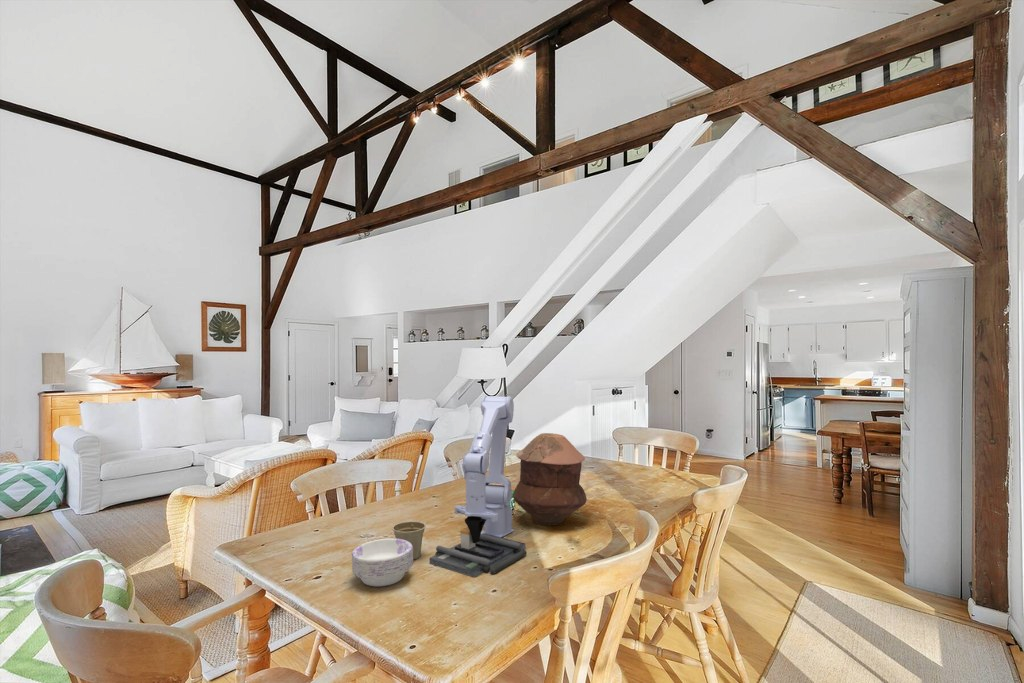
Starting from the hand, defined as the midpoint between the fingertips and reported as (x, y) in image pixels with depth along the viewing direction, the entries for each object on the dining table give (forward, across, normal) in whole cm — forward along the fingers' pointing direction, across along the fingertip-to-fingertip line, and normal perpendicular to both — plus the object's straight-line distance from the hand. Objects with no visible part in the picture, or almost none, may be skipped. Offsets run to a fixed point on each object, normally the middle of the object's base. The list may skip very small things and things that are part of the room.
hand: (475, 542), depth 146 cm
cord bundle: (+3, +2, -1) cm, 4 cm away
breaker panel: (+3, +1, 0) cm, 4 cm away
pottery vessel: (+4, +2, +38) cm, 38 cm away
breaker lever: (+2, -3, 0) cm, 3 cm away
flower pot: (+4, -15, -12) cm, 19 cm away
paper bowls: (+4, -10, -26) cm, 28 cm away
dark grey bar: (+3, +1, +7) cm, 8 cm away
